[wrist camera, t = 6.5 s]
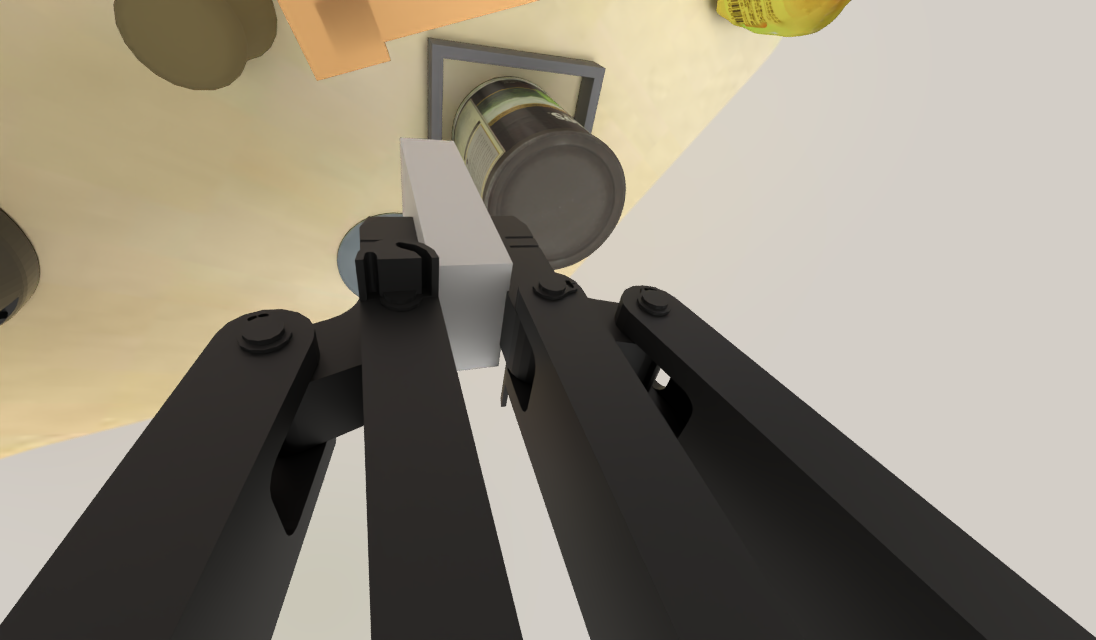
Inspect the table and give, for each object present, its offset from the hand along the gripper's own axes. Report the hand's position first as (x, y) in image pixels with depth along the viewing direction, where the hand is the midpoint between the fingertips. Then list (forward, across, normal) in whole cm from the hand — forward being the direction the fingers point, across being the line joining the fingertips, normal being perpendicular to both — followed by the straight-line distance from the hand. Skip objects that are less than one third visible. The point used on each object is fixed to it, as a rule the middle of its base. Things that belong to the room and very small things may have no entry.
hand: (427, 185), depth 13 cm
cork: (+27, +10, 0) cm, 29 cm away
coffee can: (+27, -10, +7) cm, 30 cm away
